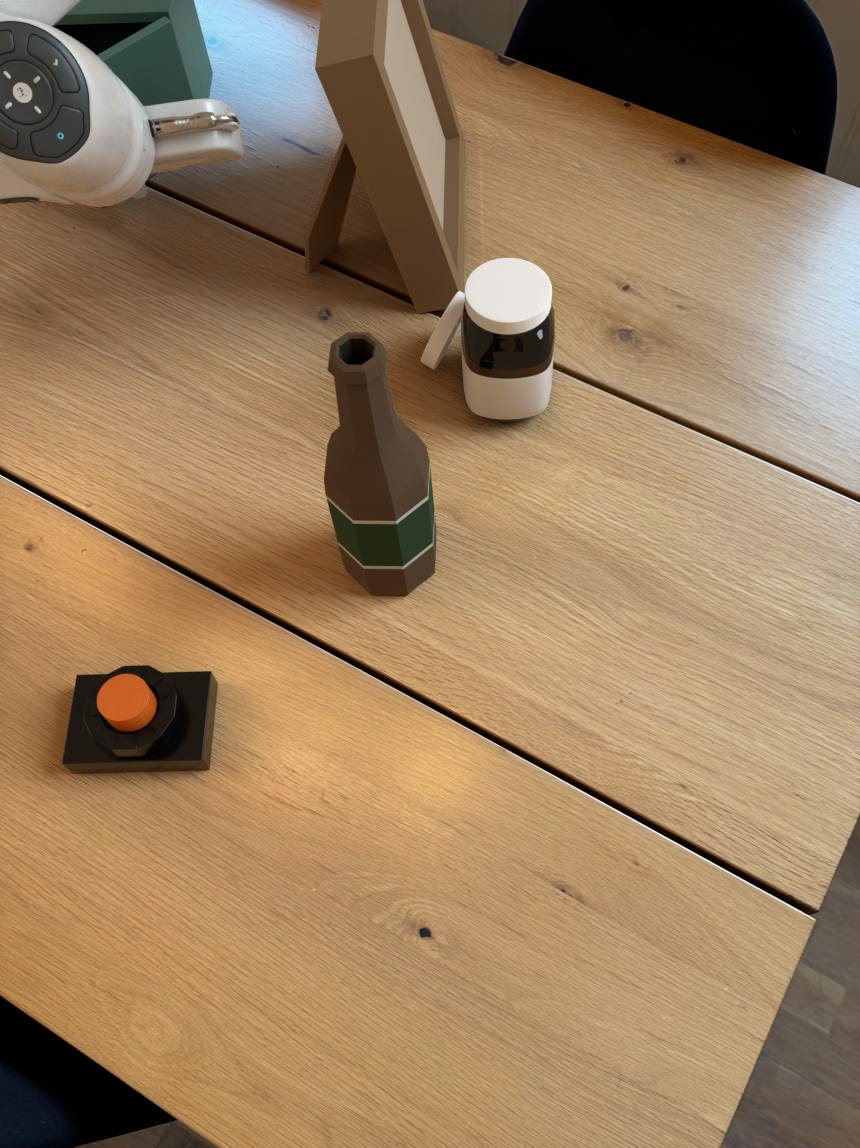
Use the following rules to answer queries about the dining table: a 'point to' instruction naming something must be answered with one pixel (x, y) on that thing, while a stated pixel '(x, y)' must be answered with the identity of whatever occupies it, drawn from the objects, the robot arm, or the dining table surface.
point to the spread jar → (501, 339)
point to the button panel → (160, 745)
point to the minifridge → (127, 5)
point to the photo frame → (393, 143)
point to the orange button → (127, 702)
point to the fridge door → (150, 68)
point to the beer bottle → (377, 476)
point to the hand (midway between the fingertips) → (124, 162)
